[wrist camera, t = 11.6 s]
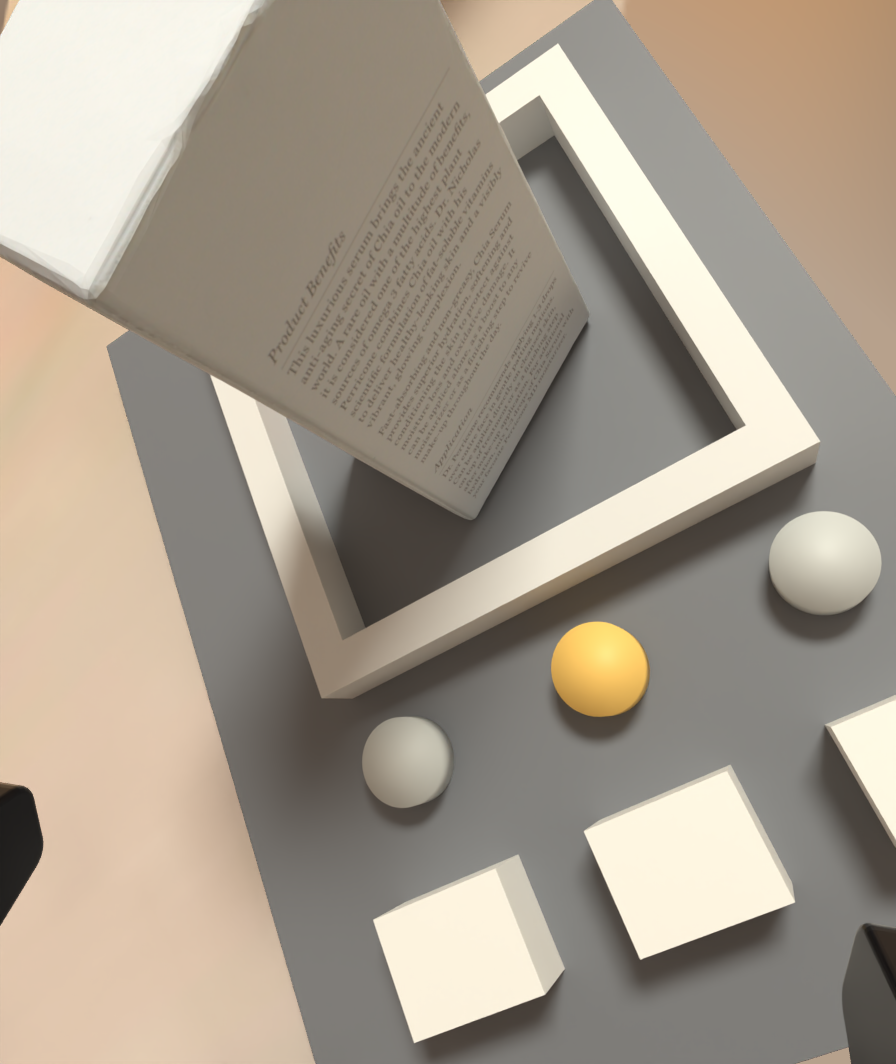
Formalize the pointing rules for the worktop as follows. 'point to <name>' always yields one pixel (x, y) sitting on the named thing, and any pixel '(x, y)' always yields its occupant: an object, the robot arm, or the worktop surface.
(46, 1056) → the worktop surface
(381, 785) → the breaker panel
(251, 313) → the skincare box
